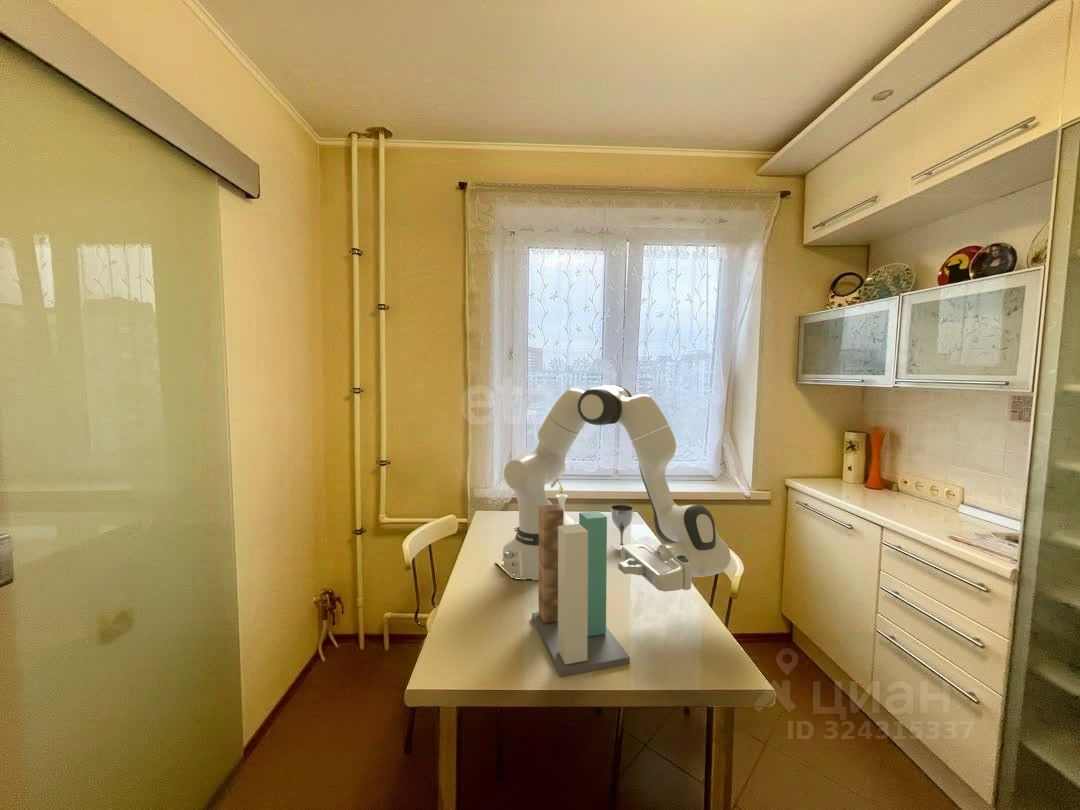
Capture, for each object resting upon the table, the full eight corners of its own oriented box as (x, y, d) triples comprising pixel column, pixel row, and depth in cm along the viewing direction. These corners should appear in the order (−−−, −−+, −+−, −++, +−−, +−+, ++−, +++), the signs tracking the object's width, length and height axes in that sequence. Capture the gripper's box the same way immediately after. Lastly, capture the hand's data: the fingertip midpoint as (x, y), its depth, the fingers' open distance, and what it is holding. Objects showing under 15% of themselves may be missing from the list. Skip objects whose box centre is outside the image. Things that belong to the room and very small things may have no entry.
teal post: (597, 622, 105) (598, 511, 104) (606, 633, 100) (606, 517, 99) (578, 625, 104) (579, 512, 102) (586, 636, 99) (587, 518, 98)
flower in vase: (553, 522, 188) (553, 466, 187) (578, 525, 184) (578, 468, 183) (543, 531, 176) (543, 471, 175) (569, 535, 172) (569, 474, 171)
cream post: (578, 646, 95) (579, 524, 94) (587, 660, 90) (588, 531, 89) (557, 650, 94) (558, 526, 93) (565, 664, 89) (565, 533, 88)
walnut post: (557, 610, 111) (557, 504, 109) (563, 620, 106) (563, 510, 105) (538, 613, 109) (538, 506, 108) (544, 623, 104) (544, 511, 103)
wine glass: (636, 548, 158) (637, 508, 157) (620, 552, 154) (620, 511, 153) (622, 541, 165) (623, 503, 164) (606, 545, 161) (606, 506, 160)
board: (589, 609, 114) (589, 604, 114) (629, 663, 92) (629, 657, 92) (532, 618, 110) (532, 613, 110) (559, 677, 88) (559, 670, 88)
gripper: (649, 535, 117) (603, 540, 113) (695, 566, 97) (641, 573, 94) (648, 558, 117) (603, 563, 114) (694, 593, 98) (641, 601, 94)
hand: (620, 568), depth 103 cm, fingers closed
